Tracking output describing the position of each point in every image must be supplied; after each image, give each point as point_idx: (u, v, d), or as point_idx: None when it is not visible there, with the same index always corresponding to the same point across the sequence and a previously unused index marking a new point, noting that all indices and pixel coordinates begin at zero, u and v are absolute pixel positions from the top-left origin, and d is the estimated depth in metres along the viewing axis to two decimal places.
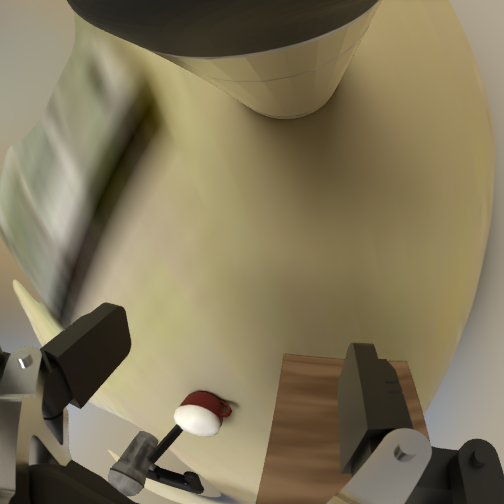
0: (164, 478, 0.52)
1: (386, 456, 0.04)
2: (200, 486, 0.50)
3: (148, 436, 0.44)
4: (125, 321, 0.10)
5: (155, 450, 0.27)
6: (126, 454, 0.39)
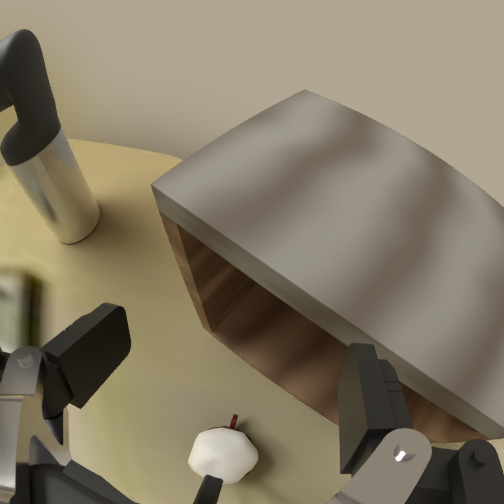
0: None
1: (386, 456, 0.04)
2: None
3: None
4: (125, 321, 0.10)
5: None
6: None
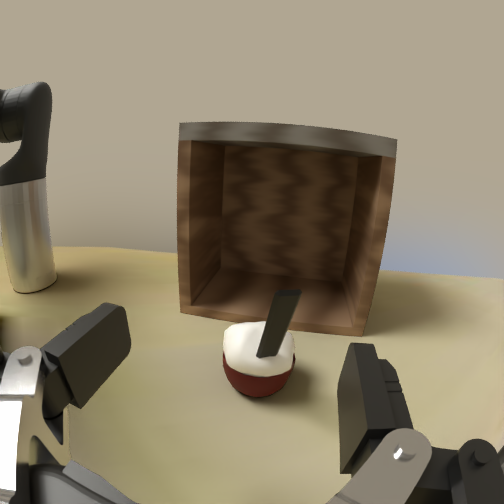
0: None
1: (386, 456, 0.04)
2: None
3: None
4: (125, 321, 0.10)
5: None
6: None
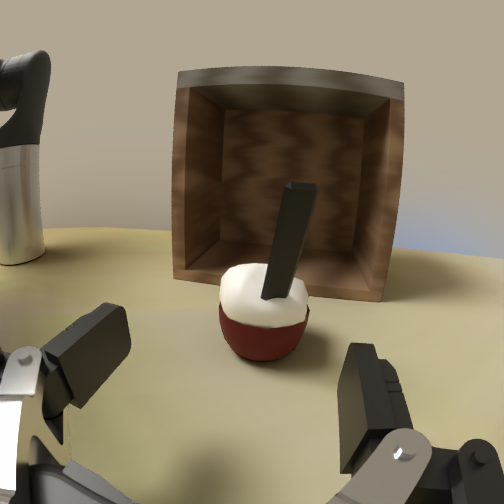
0: None
1: (386, 456, 0.04)
2: None
3: None
4: (125, 321, 0.10)
5: (279, 218, 0.13)
6: None
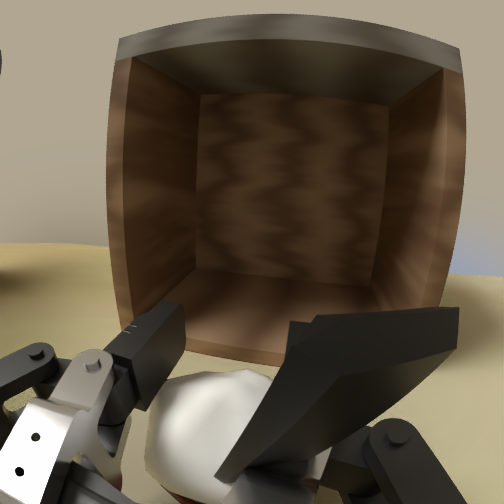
0: None
1: None
2: None
3: None
4: (183, 319, 0.10)
5: None
6: None
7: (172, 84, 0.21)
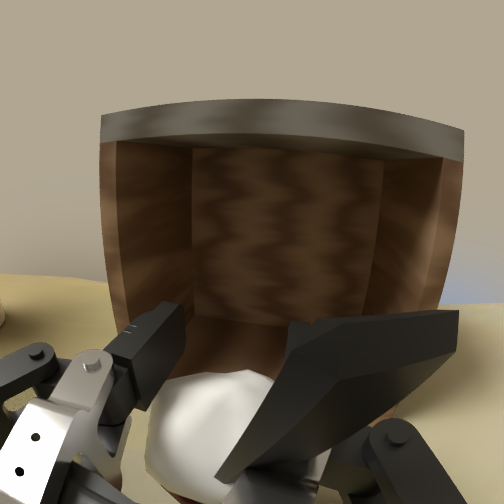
0: None
1: None
2: None
3: None
4: (183, 319, 0.10)
5: None
6: None
7: (162, 151, 0.22)
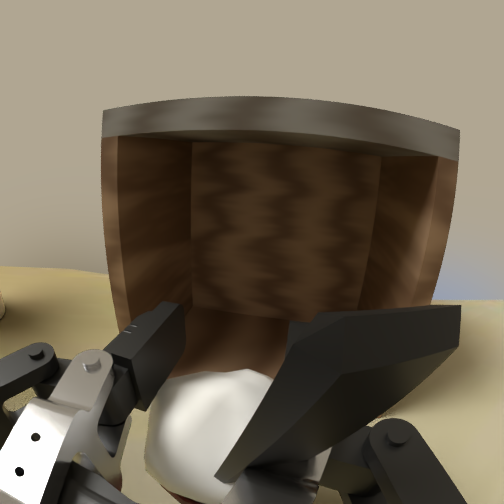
0: None
1: None
2: None
3: None
4: (183, 319, 0.10)
5: None
6: None
7: (162, 145, 0.22)
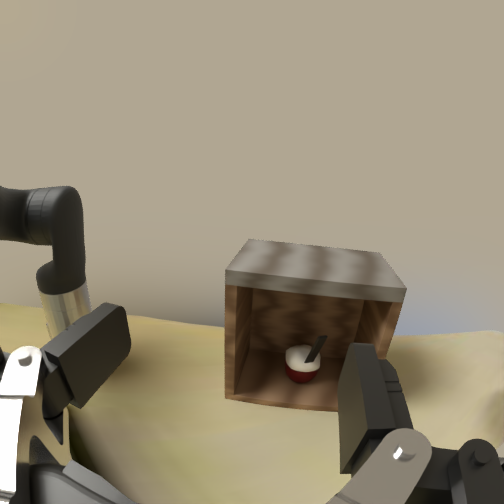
0: None
1: (386, 456, 0.04)
2: None
3: None
4: (125, 321, 0.10)
5: (314, 343, 0.39)
6: None
7: None
